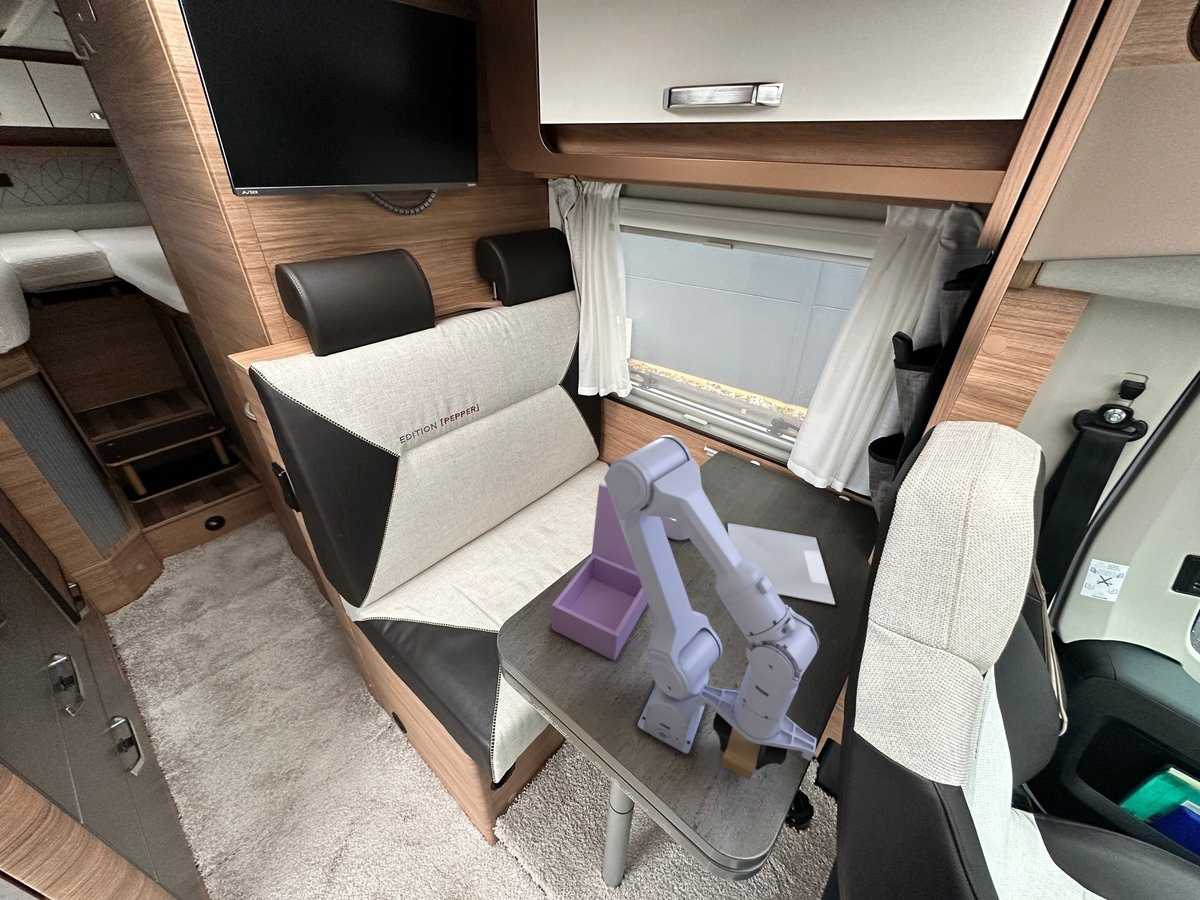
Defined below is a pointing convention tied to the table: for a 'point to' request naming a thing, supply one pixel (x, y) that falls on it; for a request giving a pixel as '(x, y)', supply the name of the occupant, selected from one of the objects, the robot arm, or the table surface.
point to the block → (741, 755)
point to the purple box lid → (610, 532)
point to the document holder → (785, 561)
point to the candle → (674, 529)
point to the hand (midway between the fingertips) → (740, 753)
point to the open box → (600, 606)
